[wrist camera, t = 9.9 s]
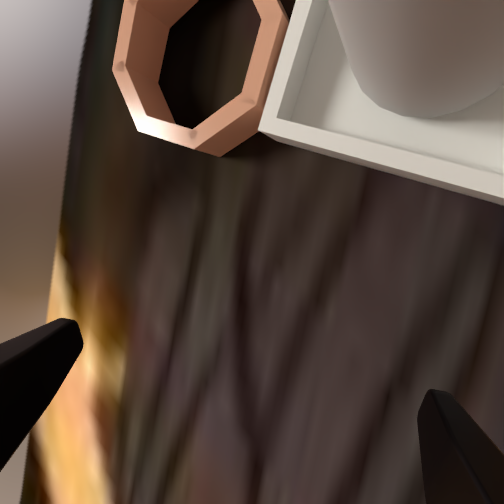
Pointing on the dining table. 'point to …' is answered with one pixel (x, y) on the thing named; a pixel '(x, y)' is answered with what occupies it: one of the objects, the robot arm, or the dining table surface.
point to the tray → (376, 117)
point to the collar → (150, 62)
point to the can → (423, 52)
